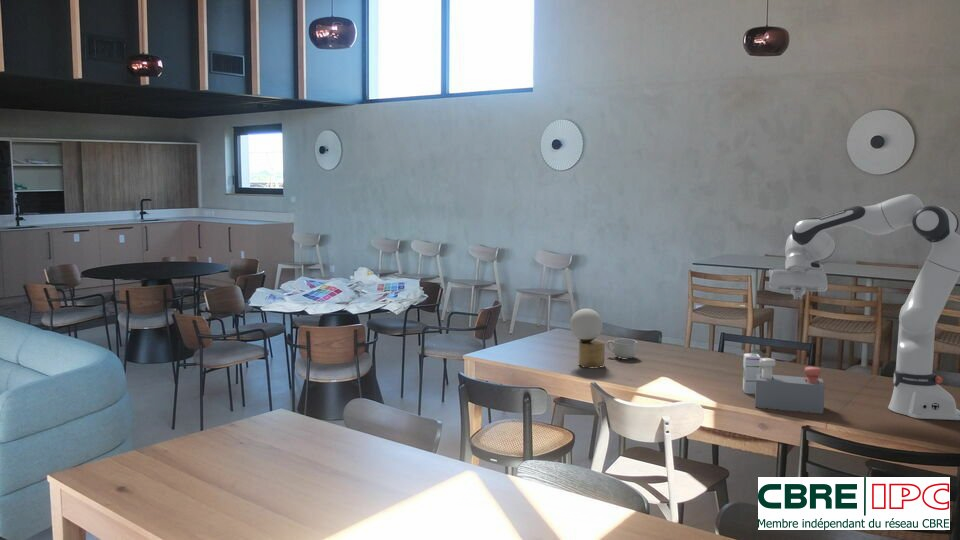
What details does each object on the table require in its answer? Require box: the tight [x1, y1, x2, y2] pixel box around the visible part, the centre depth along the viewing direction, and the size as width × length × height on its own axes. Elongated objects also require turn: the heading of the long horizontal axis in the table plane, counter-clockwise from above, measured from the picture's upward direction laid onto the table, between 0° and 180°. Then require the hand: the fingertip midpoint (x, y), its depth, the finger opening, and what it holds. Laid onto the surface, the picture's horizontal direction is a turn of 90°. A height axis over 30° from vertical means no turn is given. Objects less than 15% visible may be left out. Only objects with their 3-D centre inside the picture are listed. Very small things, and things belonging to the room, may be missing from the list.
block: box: [754, 373, 826, 415], centre depth 271 cm, size 22×10×10 cm, turn 70°
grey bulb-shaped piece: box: [760, 357, 776, 379], centre depth 272 cm, size 5×5×14 cm
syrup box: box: [742, 352, 762, 395], centre depth 289 cm, size 6×6×14 cm
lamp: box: [569, 308, 606, 368], centre depth 332 cm, size 15×14×25 cm
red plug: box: [804, 366, 822, 383], centre depth 268 cm, size 5×5×14 cm
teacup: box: [605, 337, 638, 359], centre depth 348 cm, size 14×11×8 cm
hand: (798, 298), depth 279 cm, fingers closed
